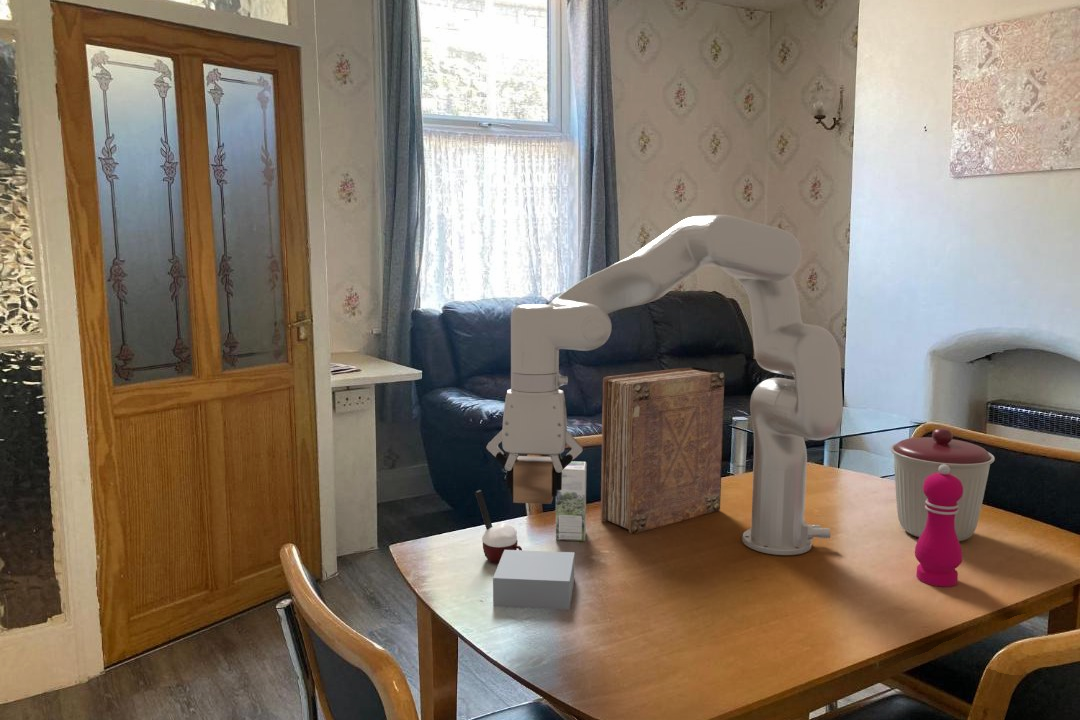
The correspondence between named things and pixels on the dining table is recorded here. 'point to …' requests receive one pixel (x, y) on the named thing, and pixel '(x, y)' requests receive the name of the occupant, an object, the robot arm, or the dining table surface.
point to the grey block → (534, 579)
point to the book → (661, 447)
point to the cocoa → (496, 535)
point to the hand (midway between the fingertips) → (534, 492)
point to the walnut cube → (532, 480)
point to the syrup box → (572, 503)
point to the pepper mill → (940, 530)
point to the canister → (925, 458)
